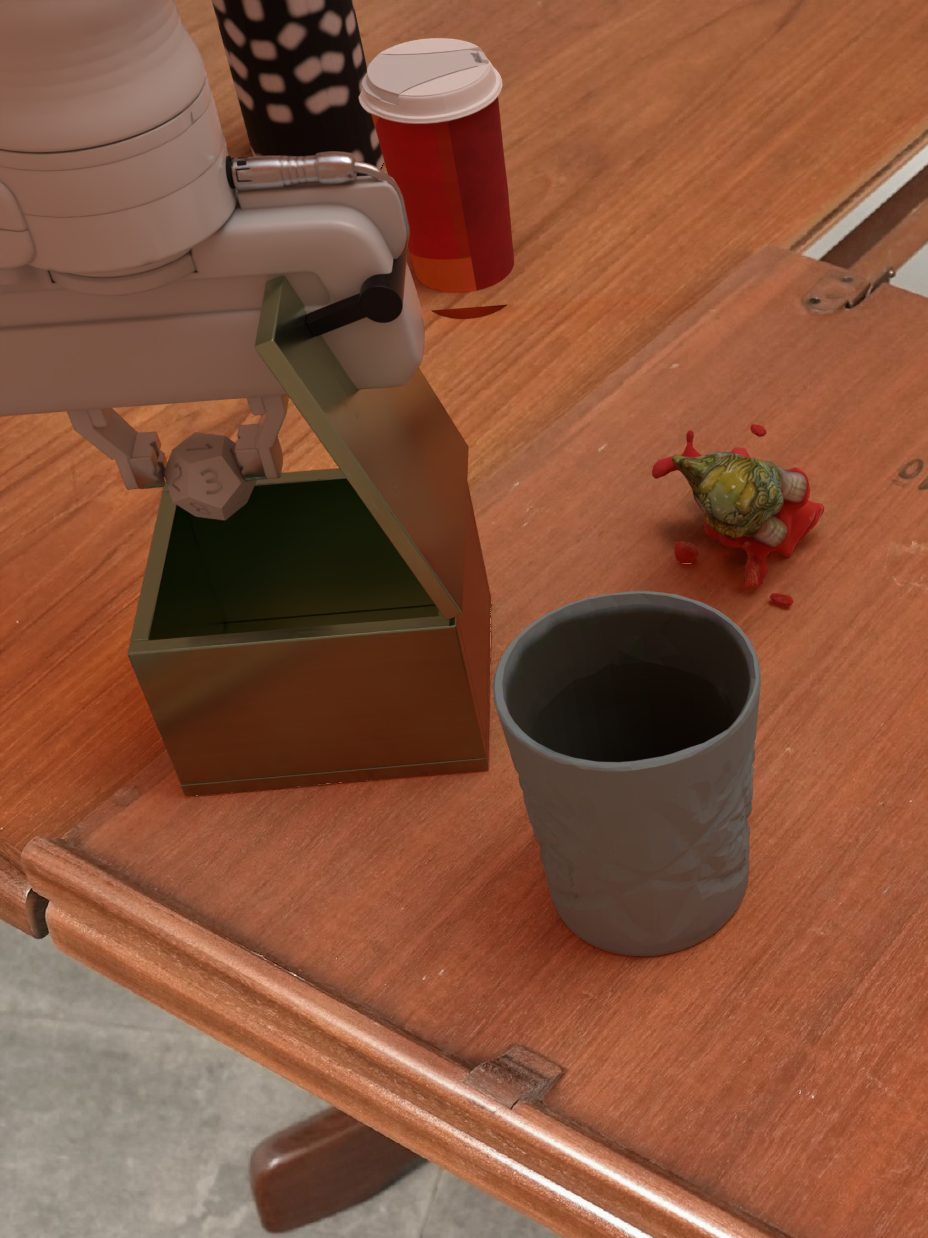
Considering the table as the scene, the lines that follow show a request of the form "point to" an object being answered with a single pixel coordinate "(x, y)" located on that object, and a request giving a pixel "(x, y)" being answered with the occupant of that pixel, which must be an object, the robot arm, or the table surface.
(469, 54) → the paper cup
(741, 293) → the table surface
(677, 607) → the grey cup
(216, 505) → the game die
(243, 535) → the bin
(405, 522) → the lid
